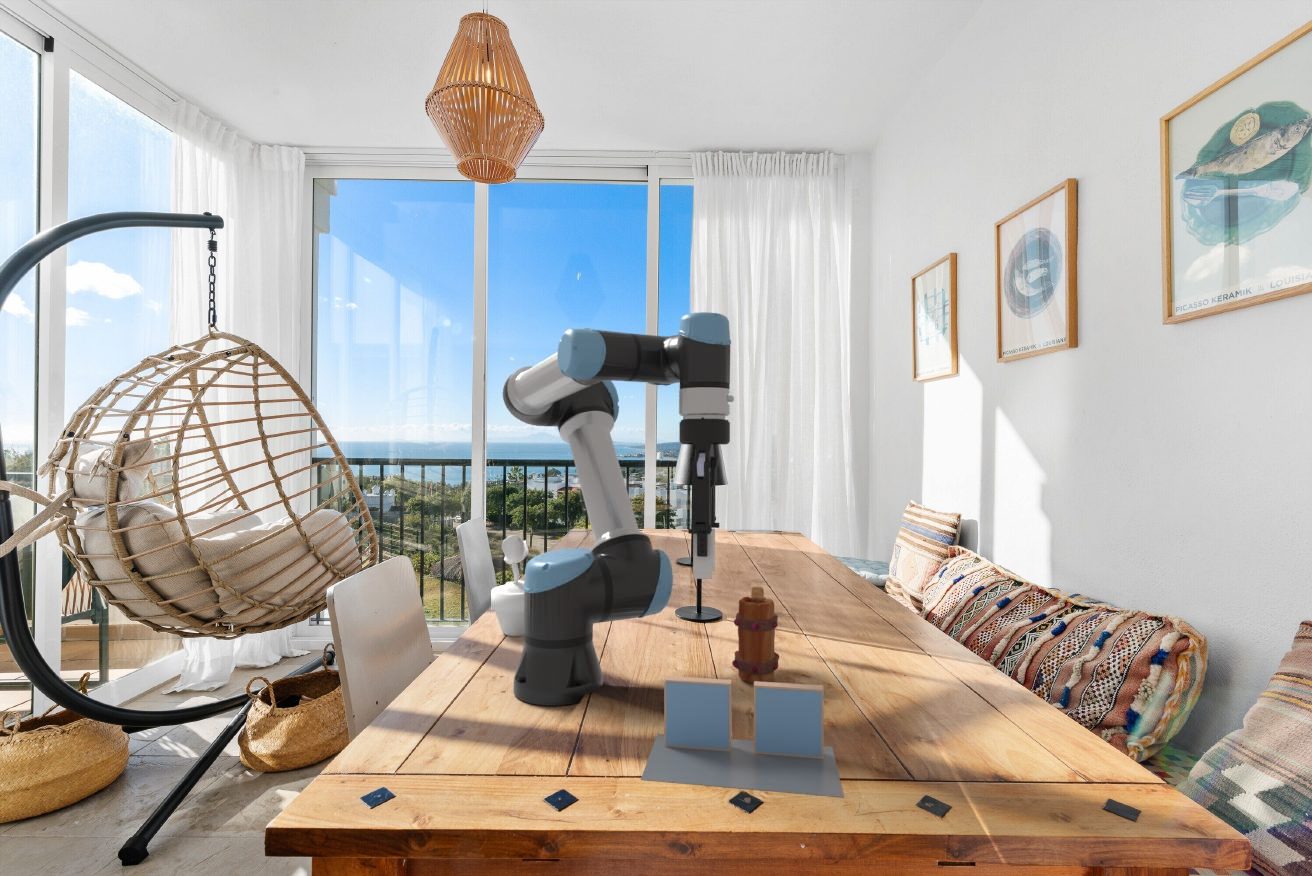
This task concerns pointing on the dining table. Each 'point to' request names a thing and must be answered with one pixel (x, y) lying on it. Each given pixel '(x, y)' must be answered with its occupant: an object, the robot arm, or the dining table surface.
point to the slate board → (744, 769)
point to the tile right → (789, 719)
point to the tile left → (698, 713)
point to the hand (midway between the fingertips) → (704, 574)
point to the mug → (756, 638)
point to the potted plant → (511, 589)
